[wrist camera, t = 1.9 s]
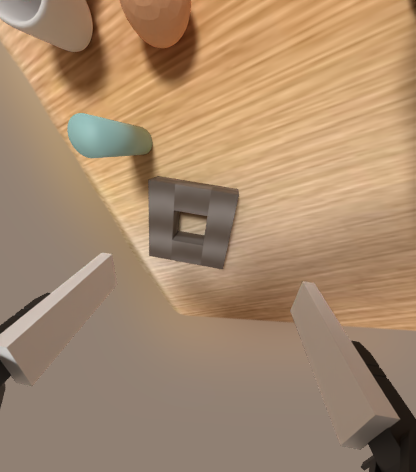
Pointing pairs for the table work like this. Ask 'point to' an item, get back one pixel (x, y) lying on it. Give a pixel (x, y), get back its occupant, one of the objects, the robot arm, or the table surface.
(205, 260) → the socket
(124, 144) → the peg
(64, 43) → the cup
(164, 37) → the egg
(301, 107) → the table surface
